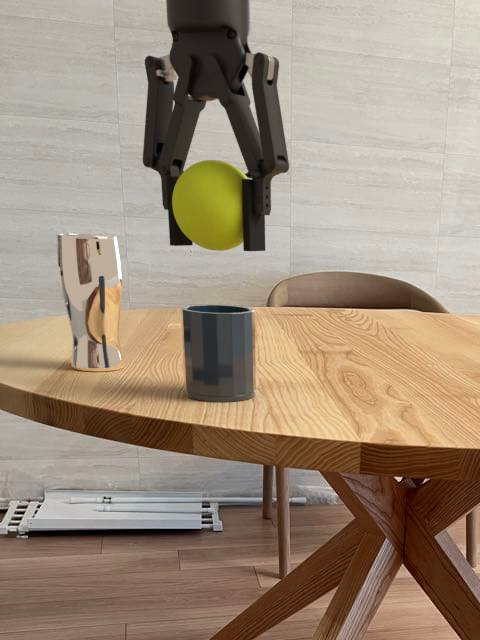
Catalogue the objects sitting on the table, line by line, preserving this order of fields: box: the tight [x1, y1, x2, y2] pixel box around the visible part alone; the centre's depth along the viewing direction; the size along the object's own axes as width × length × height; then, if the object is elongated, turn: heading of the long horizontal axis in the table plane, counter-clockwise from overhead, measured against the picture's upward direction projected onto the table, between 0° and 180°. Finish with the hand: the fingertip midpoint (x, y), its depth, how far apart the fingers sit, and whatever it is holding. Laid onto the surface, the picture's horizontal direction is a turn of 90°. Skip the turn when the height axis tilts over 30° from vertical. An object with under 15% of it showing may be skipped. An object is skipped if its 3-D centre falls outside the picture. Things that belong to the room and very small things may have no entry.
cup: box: [180, 304, 257, 403], centre depth 88 cm, size 7×7×9 cm
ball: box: [172, 159, 249, 252], centre depth 82 cm, size 8×8×8 cm
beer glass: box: [56, 232, 126, 372], centre depth 97 cm, size 7×7×15 cm
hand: (217, 247), depth 84 cm, fingers closed on ball, 8 cm apart
